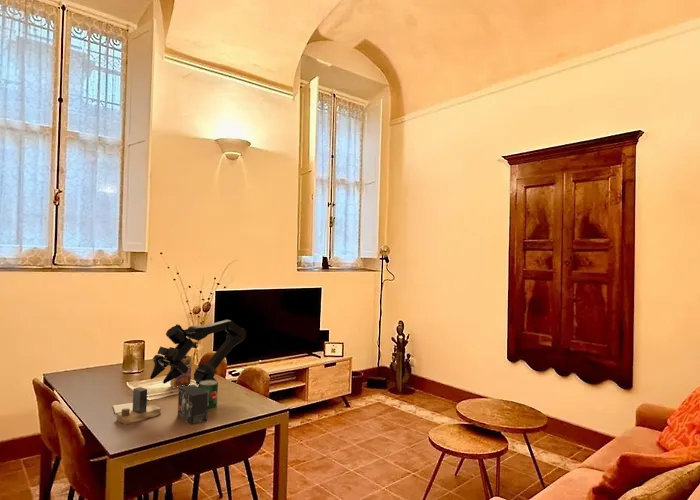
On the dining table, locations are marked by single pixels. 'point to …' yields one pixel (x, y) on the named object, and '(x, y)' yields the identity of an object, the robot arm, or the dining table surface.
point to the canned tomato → (210, 392)
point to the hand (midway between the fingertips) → (157, 380)
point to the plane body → (137, 414)
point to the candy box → (184, 378)
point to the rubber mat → (122, 407)
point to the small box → (192, 404)
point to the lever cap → (139, 400)
